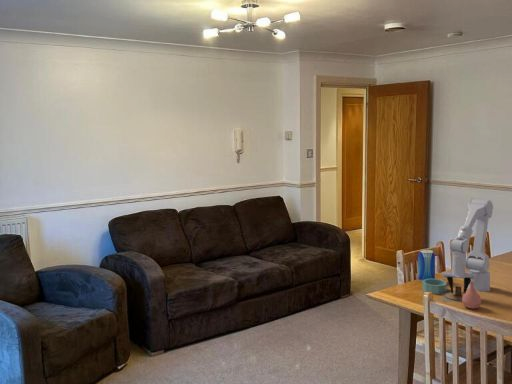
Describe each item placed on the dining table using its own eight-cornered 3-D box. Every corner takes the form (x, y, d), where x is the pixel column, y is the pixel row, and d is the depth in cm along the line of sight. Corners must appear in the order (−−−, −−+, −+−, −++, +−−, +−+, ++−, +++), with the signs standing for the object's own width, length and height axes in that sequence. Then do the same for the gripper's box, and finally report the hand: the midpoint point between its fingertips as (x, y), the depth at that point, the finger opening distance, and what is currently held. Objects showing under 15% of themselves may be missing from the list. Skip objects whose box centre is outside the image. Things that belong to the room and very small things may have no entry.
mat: (472, 293, 239) (472, 292, 238) (476, 304, 225) (476, 303, 225) (441, 292, 242) (441, 291, 242) (443, 302, 229) (443, 301, 229)
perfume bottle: (474, 304, 225) (474, 278, 223) (484, 310, 217) (485, 283, 216) (458, 306, 223) (458, 280, 222) (468, 312, 216) (468, 285, 214)
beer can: (435, 284, 254) (436, 253, 252) (418, 283, 256) (418, 253, 254) (433, 279, 262) (433, 249, 260) (416, 278, 264) (417, 249, 262)
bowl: (445, 288, 248) (445, 279, 247) (447, 295, 237) (447, 286, 237) (421, 286, 251) (422, 278, 250) (423, 294, 240) (423, 285, 240)
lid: (470, 293, 238) (470, 283, 237) (474, 302, 226) (474, 292, 226) (443, 291, 241) (443, 282, 240) (445, 300, 230) (446, 290, 229)
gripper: (443, 266, 230) (442, 294, 232) (477, 267, 226) (476, 296, 228) (441, 262, 237) (441, 290, 238) (474, 263, 233) (474, 291, 234)
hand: (458, 293), depth 233 cm, fingers open, 5 cm apart
